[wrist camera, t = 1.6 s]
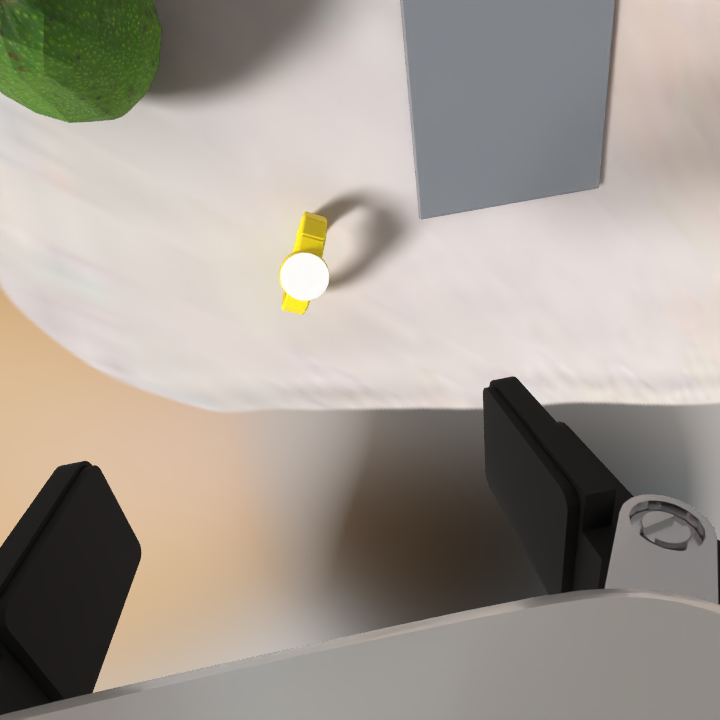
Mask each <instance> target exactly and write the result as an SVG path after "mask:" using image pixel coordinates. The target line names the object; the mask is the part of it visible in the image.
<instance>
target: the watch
mask: <svg viewBox="0 0 720 720" xmlns="http://www.w3.org/2000/svg"><path fill="white" fill-rule="evenodd" d="M327 225H328V224H327V219H326V217H323V216H320V215H316V214H313V213H309V212H304V214H303V216H302V219H301V222H300V226H299V229H298V232H297V237H296V241H295V245H294V249H293V253H292V254H290V255H288V256H287V257H286V258H285V260H284V261H283V262H282V265H281V267H280V273H279V280H280V284H281V286H282V288H283V290H284V294H283V299H282V309H283V310H285V311H289V312H293V313H297V314H304V313H305V311H306V310H307V308H308V305H309V302H310V300H314V299H316V298H318V297H319V296H321V295H322V294H323V293H324V291H325V290H326V288H327V286H328V284H329V271H328V267H327V265H326V263H325V261H324V260H323V259H322V255H323V250H324V245H325V240H326V233H327Z"/></svg>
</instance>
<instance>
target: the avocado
mask: <svg viewBox="0 0 720 720" xmlns="http://www.w3.org/2000/svg"><path fill="white" fill-rule="evenodd" d="M161 31H162V28H161V25H160V22H159V19H158V16H157V13H156V10H155V7H154V3H153V0H0V92H1V93H3V94H4V95H6V96H7V97H9V98H11V99H13V100H14V101H16V102H18V103H20V104H21V105H23V106H25V107H27V108H29V109H30V110H32V111H34V112H36V113H38V114H42V115H45V116H49V117H52V118H55V119H59V120H62V121H65V122H69V123H73V122H92V121H103V120H114V119H117V118H119V117H122V116H123V115H125V114H126V113H127V112H128V111H130V110H131V109H132V108H133V107H134V106H135V104H136V103H137V102H138V101H139V100H140V99H141V98H142V97H143V96H144V95H145V94H146V93H147V92H148V89H149V87H150V85H151V83H152V80H153V78H154V76H155V74H156V71H157V69H158V67H159V55H160V43H161Z"/></svg>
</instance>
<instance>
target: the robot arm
mask: <svg viewBox="0 0 720 720" xmlns="http://www.w3.org/2000/svg"><path fill="white" fill-rule="evenodd" d="M483 408H484V439H485V472H486V478H487V481H488V484H489V487H490V489H491V491H492V492H493V494H494V496H495V498H496V500H497V501H498V503H499V505H500V507H501V509H502V511H503V512H504V514H505V516H506V518H507V520H508V522H509V523H510V525H511V527H512V529H513V530H514V532H515V534H516V536H517V538H518V540H519V542H520V543H521V545H522V547H523V549H524V551H525V553H526V554H527V556H528V558H529V560H530V562H531V563H532V565H533V567H534V569H535V571H536V573H537V574H538V576H539V578H540V580H541V582H542V584H543V585H544V587H545V589H546V591H547V593H548V594H549V595H546V596H540V597H534V598H529V599H524V600H520V601H514V602H509V603H504V604H499V605H494V606H488V607H483V608H478V609H473V610H468V611H463V612H458V613H454V614H449V615H445V616H440V617H435V618H430V619H426V620H422V621H416V622H412V623H408V624H402V625H398V626H393V627H388V628H384V629H379V630H375V631H370V632H365V633H360V634H356V635H351V636H347V637H342V638H338V639H333V640H329V641H324V642H319V643H315V644H310V645H306V646H301V647H296V648H292V649H287V650H283V651H278V652H274V653H269V654H264V655H260V656H256V657H251V658H246V659H242V660H238V661H233V662H229V663H224V664H219V665H215V666H211V667H206V668H201V669H197V670H192V671H188V672H184V673H179V674H175V675H170V676H166V677H161V678H157V679H153V680H148V681H144V682H139V683H135V684H130V685H126V686H122V687H117V688H113V689H108V690H105V691H100V692H95V693H93V690H94V687H95V684H96V681H97V679H98V676H99V673H100V670H101V667H102V665H103V662H104V659H105V656H106V654H107V651H108V648H109V645H110V643H111V640H112V637H113V634H114V632H115V629H116V626H117V623H118V620H119V618H120V615H121V612H122V609H123V606H124V603H125V600H126V598H127V595H128V593H129V590H130V587H131V584H132V581H133V579H134V575H135V573H136V570H137V568H138V565H139V562H140V559H141V547H140V544H139V541H138V540H137V538H136V536H135V534H134V532H133V530H132V528H131V526H130V524H129V523H128V521H127V519H126V517H125V515H124V513H123V511H122V509H121V508H120V506H119V504H118V502H117V500H116V498H115V496H114V494H113V492H112V491H111V488H110V487H109V485H108V483H107V481H106V479H105V477H104V475H103V474H102V471H101V470H100V468H99V467H98V466H95V465H94V466H92V465H91V464H90V463H89V462H87V461H82V462H78V463H72V464H68V465H62V466H59V467H58V468H57V469H56V470H55V471H54V472H53V474H52V475H51V477H50V478H49V480H48V481H47V482H46V484H45V485H44V487H43V488H42V489H41V491H40V492H39V494H38V495H37V497H36V498H35V499H34V501H33V502H32V504H31V505H30V507H29V508H28V509H27V511H26V512H25V513H24V515H23V516H22V518H21V519H20V520H19V522H18V523H17V525H16V526H15V527H14V529H13V530H12V532H11V533H10V535H9V536H8V537H7V539H6V540H5V542H4V543H3V545H2V546H1V547H0V720H720V541H719V540H717V536H716V532H715V529H714V527H713V526H712V524H711V523H710V521H709V520H708V519H707V518H706V517H705V516H704V515H703V514H701V513H700V512H699V511H698V510H697V509H695V508H693V507H692V506H690V505H688V504H686V503H684V502H682V501H679V500H676V499H673V498H671V497H667V496H660V495H640V496H636V497H633V496H632V495H631V493H630V492H629V491H628V490H627V489H626V488H625V487H624V486H623V485H622V484H621V483H620V482H619V481H618V479H617V478H616V477H615V476H614V475H613V474H612V473H611V472H610V471H609V470H608V469H607V468H606V467H605V465H604V464H603V463H602V462H601V461H600V460H599V459H598V458H597V457H596V456H595V455H594V454H593V453H592V451H591V450H590V449H589V448H588V447H587V446H586V445H585V444H584V443H583V442H582V441H581V440H580V439H579V438H578V437H577V435H576V434H575V433H574V432H573V431H572V430H571V429H570V428H569V427H568V426H567V425H566V424H565V423H562V422H556V421H555V420H554V419H553V418H552V417H551V416H550V415H549V413H548V412H547V411H546V410H545V409H544V408H543V407H542V406H541V404H540V403H539V402H538V401H537V400H536V399H535V398H534V397H533V396H532V394H531V393H530V392H529V391H528V390H527V389H526V388H525V387H524V386H523V384H522V383H521V382H520V381H519V380H518V379H517V378H516V377H508V378H503V379H498V380H492V381H491V382H490V386H489V387H487V388H484V390H483Z"/></svg>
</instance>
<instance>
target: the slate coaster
mask: <svg viewBox="0 0 720 720" xmlns="http://www.w3.org/2000/svg"><path fill="white" fill-rule="evenodd" d="M400 2H401V13H402V25H403V36H404V48H405V59H406V70H407V82H408V93H409V105H410V116H411V128H412V139H413V151H414V162H415V173H416V185H417V196H418V208H419V218H420V219H427V218H432V217H438V216H444V215H449V214H455V213H460V212H466V211H472V210H477V209H483V208H488V207H494V206H500V205H505V204H511V203H517V202H522V201H528V200H533V199H539V198H545V197H550V196H556V195H561V194H567V193H573V192H578V191H584V190H590V189H595V188H599V181H600V169H601V157H602V145H603V134H604V122H605V110H606V98H607V87H608V75H609V63H610V51H611V40H612V28H613V16H614V4H615V0H400Z"/></svg>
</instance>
